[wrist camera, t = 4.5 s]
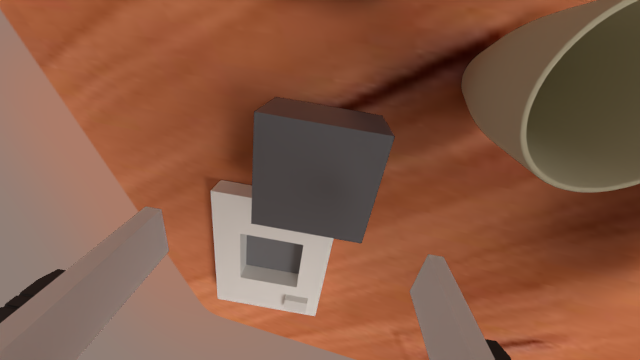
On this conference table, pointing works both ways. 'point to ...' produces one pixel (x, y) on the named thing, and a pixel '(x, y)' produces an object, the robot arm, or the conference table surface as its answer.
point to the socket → (264, 256)
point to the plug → (317, 168)
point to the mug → (565, 95)
